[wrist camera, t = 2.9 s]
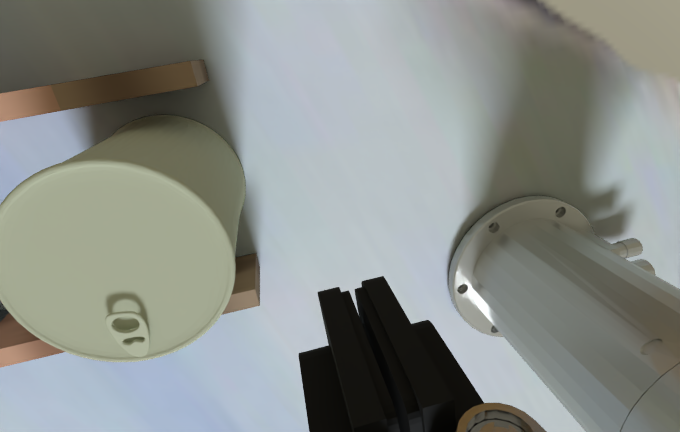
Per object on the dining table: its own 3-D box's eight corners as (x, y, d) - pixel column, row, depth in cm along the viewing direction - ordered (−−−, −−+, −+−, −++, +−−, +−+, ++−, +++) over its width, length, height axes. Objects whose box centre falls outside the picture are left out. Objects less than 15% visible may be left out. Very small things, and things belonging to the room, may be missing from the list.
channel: (203, 59, 24) (190, 60, 20) (259, 267, 30) (259, 305, 25) (-97, 111, 23) (-186, 125, 18) (22, 321, 28) (-24, 373, 24)
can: (116, 257, 28) (22, 389, 17) (77, 120, 24) (-71, 173, 14) (253, 241, 29) (249, 353, 18) (235, 109, 26) (217, 149, 15)
